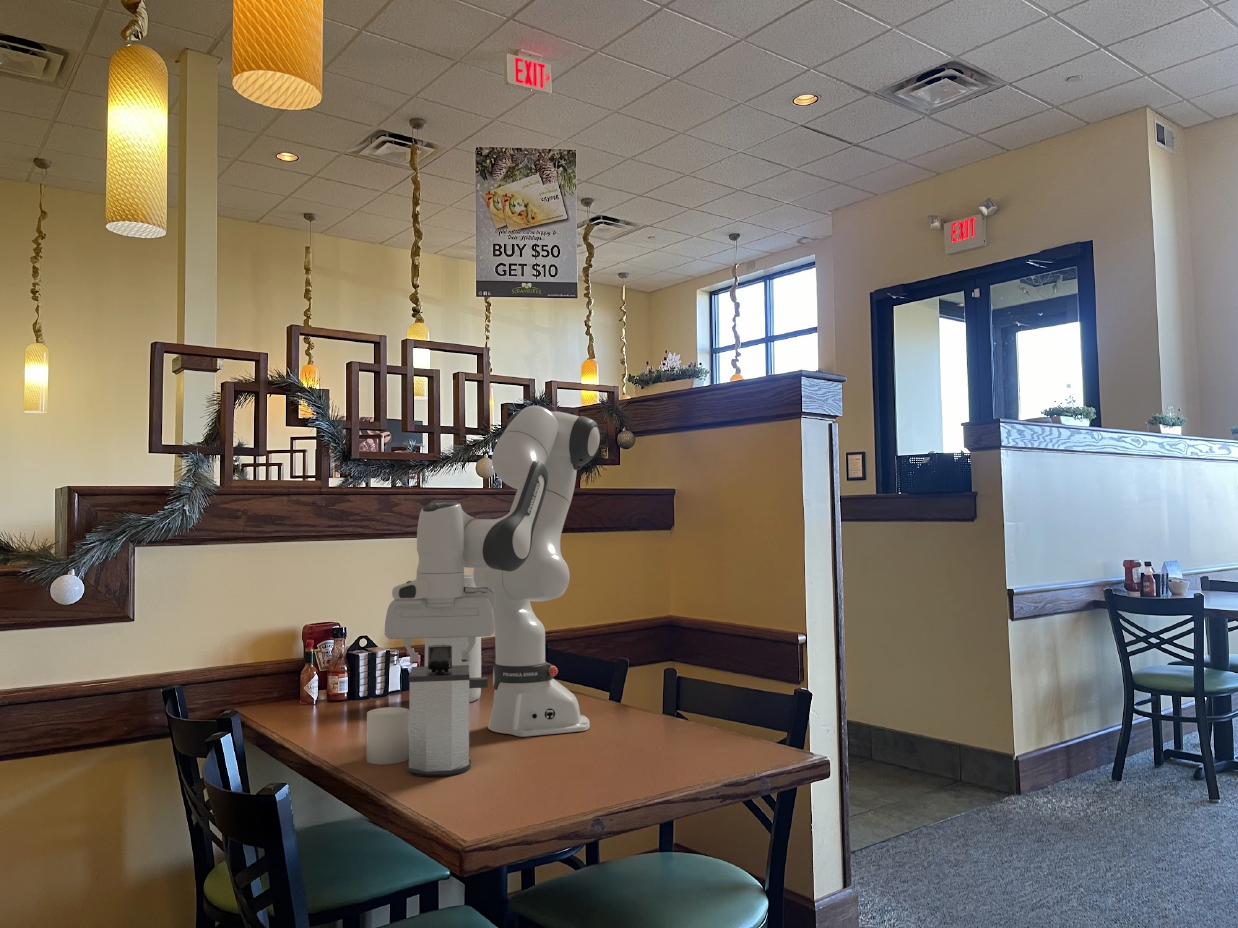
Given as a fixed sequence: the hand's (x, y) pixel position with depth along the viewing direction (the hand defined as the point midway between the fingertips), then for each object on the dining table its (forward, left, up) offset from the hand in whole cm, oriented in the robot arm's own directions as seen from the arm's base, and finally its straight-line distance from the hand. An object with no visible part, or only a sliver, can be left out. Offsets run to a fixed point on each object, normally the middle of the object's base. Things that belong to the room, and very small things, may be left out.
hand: (439, 661), depth 169 cm
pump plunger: (0, 0, -18) cm, 18 cm away
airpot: (-1, 0, -20) cm, 20 cm away
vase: (-2, -64, -20) cm, 67 cm away
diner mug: (+10, -11, -20) cm, 24 cm away
